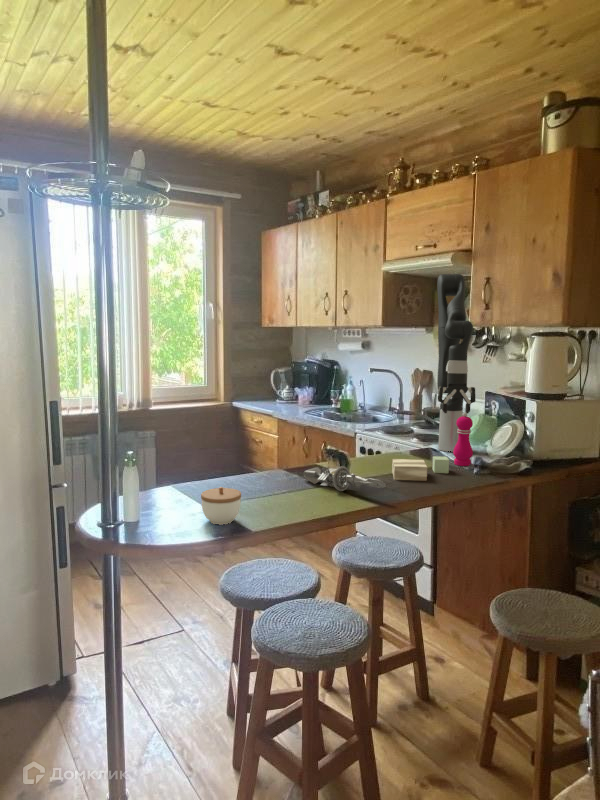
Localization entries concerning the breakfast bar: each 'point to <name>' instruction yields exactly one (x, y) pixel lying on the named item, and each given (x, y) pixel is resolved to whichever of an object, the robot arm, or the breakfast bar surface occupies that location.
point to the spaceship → (340, 478)
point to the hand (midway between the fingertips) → (456, 413)
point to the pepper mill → (463, 441)
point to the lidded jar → (221, 504)
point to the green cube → (440, 464)
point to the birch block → (409, 469)
